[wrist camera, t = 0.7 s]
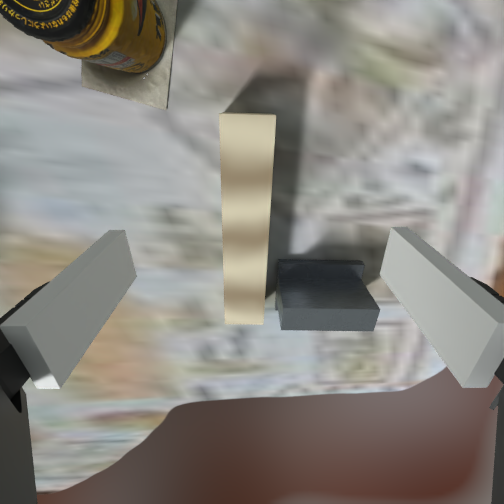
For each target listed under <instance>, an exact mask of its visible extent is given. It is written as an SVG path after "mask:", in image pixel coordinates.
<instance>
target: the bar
mask: <svg viewBox="0 0 504 504" xmlns="http://www.w3.org/2000/svg"><path fill="white" fill-rule="evenodd" d="M219 123H220V160H221V197H222V234H223V271H224V307H225V324H258V325H263V321H264V305H265V289H266V273H267V256H268V240H269V224H270V208H271V192H272V176H273V160H274V144H275V127H276V115H274V114H263V113H229V112H223V113H220V114H219Z"/></svg>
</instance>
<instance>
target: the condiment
mask: <svg viewBox="0 0 504 504" xmlns="http://www.w3.org/2000/svg"><path fill="white" fill-rule="evenodd" d="M177 1H178V0H0V13H1V14H2V15H3V17H4V18H5V19H6V20H7V21H8V22H10V23H12V24H13V25H14V27H16V28H17V29H19V30H21V31H23V32H24V33H25V34H27V35H29V36H33V37H35V38H37V39H41V40H43V42H45V43H46V44H47V45H49V46H50V47H51V48H53V49H55V50H56V51H59V52H61V53H63V54H65V55H67V56H69V57H72V58H76V59H81V60H82V72H81V75H82V87H86V88H89V89H93V90H97V91H100V92H104V93H107V94H111V95H114V96H118V97H121V98H125V99H128V100H133V101H135V102H139V103H142V104H146V105H149V106H153V107H156V108H160V109H163V110H166V107H167V97H168V86H169V77H170V68H171V59H172V51H173V40H174V31H175V22H176V11H177ZM147 73H148V76H147V75H146V74H147ZM144 77H145V79H143V78H144Z"/></svg>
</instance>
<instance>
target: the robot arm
mask: <svg viewBox="0 0 504 504" xmlns="http://www.w3.org/2000/svg"><path fill="white" fill-rule="evenodd" d="M380 276H381V277H382V279H383V280H384V281H385V283H386V284H387V285H388V287H389V288H390V289H391V291H392V292H393V293H394V295H395V296H396V298H397V299H398V300H399V302H400V303H401V304H402V306H403V307H404V308H405V310H406V311H407V312H408V314H409V315H410V317H411V318H412V319H413V321H414V322H415V323H416V325H417V326H418V327H419V329H420V330H421V332H422V333H423V334H424V336H425V337H426V338H427V340H428V341H429V342H430V344H431V345H432V346H433V348H434V349H435V351H436V352H437V353H438V355H439V356H440V357H441V359H442V360H443V361H444V363H445V364H446V365H447V367H448V368H449V370H450V371H451V372H452V374H453V375H454V376H455V378H456V379H457V380H458V381H459V383H460V385H461V386H462V387H463V388H487V386H488V385H489V383H490V382H491V380H492V378H493V377H494V375H496V376H497V377H498V378H499V379H500V381H501V382H502V383H503V384H504V297H502V296H499V294H498V293H497V292H496V291H495V290H493V289H492V288H491V287H489V286H488V285H486V284H484V283H482V282H480V281H478V280H476V279H474V278H473V277H469V276H467V275H466V274H465V273H464V272H462V271H461V270H460V269H459V268H458V267H456V266H455V265H454V264H453V263H451V262H450V261H449V260H448V259H446V258H445V257H444V256H443V255H441V254H440V253H439V252H438V251H436V250H435V249H434V248H433V247H431V246H430V245H429V244H428V243H426V242H425V241H424V240H423V239H421V238H420V237H419V236H418V235H416V234H415V233H414V232H413V231H411V230H410V229H409V228H408V227H391V231H390V235H389V239H388V243H387V247H386V251H385V255H384V259H383V263H382V267H381V271H380ZM136 277H137V275H136V271H135V268H134V264H133V260H132V256H131V252H130V248H129V245H128V241H127V237H126V233H125V230H109V231H108V232H107V233H106V234H104V235H103V236H102V237H101V238H100V239H99V240H98V241H96V242H95V243H94V244H93V245H92V246H91V247H90V248H88V249H87V250H86V251H85V252H84V253H83V254H81V255H80V256H79V257H78V258H77V259H76V260H75V261H73V262H72V263H71V264H70V265H69V266H68V267H67V268H65V269H64V270H63V271H62V272H61V273H60V274H58V275H57V276H56V277H55V278H54V279H53V280H52V281H50V282H47V283H45V284H44V285H42V286H40V287H38V288H36V289H34V290H33V291H32V292H31V293H30V294H29V295H27V296H26V297H25V298H24V300H21V301H20V302H19V303H18V304H17V305H16V306H15V308H12V309H11V310H10V311H8V312H7V313H6V314H5V315H4V316H2V317H1V318H0V504H37V494H36V485H35V475H34V466H33V457H32V447H31V438H30V428H29V419H28V409H27V400H26V394H25V392H24V390H23V388H22V386H23V385H24V383H25V382H26V381H27V380H28V379H29V377H30V378H31V379H32V381H33V383H34V384H35V386H36V387H37V389H60V388H61V387H62V385H63V384H64V383H65V381H66V380H67V378H68V377H69V375H70V374H71V372H72V371H73V369H74V368H75V366H76V365H77V364H78V362H79V361H80V359H81V358H82V356H83V355H84V353H85V352H86V350H87V349H88V347H89V346H90V344H91V343H92V342H93V340H94V339H95V337H96V336H97V334H98V333H99V331H100V330H101V328H102V327H103V325H104V324H105V322H106V321H107V320H108V318H109V317H110V315H111V314H112V312H113V311H114V309H115V308H116V306H117V305H118V303H119V302H120V300H121V299H122V298H123V296H124V295H125V293H126V292H127V290H128V289H129V287H130V286H131V284H132V283H133V281H134V280H135V278H136ZM496 406H498V417H497V432H496V446H495V460H494V474H493V488H492V489H493V490H492V502H491V504H504V385H503V387H502V388H501V390H500V392H499V393H498V395H497V396H496V398H495V399H494V401H493V402H492V404H491V406H490V408H491V409H493V410H494V409H495V407H496Z"/></svg>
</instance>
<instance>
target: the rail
mask: <svg viewBox="0 0 504 504" xmlns="http://www.w3.org/2000/svg"><path fill="white" fill-rule="evenodd" d="M364 266H365V265H364V263H363V262H362V261H340V260H287V259H279V262H278V274H277V286H276V298H275V310H278V312H279V319H280V327H281V330H320V331H374V328H375V325H376V321H377V318H378V315H379V312H380V308H379V307H378V305H377V304H376V302H375V301H374V299H373V297H372V296H371V294H370V293H369V291H368V290H367V288H366V286H365V285H364V283H363V282H362V280H361V278H362V274H363V270H364Z"/></svg>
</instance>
